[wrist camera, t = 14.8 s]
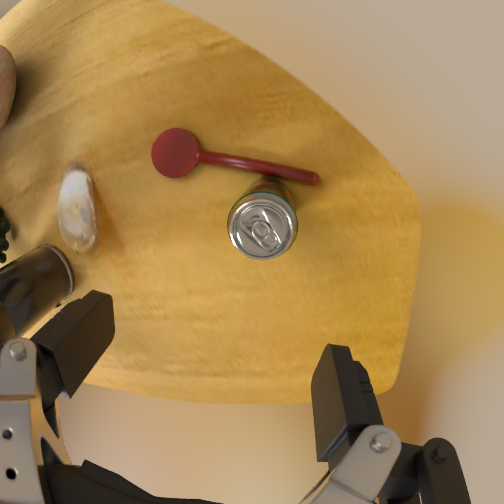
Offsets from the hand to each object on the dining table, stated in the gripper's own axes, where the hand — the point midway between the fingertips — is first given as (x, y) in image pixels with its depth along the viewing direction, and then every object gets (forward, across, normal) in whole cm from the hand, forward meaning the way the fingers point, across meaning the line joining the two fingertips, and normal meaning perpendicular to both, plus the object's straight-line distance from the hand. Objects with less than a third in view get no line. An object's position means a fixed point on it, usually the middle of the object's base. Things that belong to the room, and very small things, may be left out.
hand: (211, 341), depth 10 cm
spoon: (+23, +3, -5) cm, 23 cm away
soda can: (+23, -1, -1) cm, 23 cm away
